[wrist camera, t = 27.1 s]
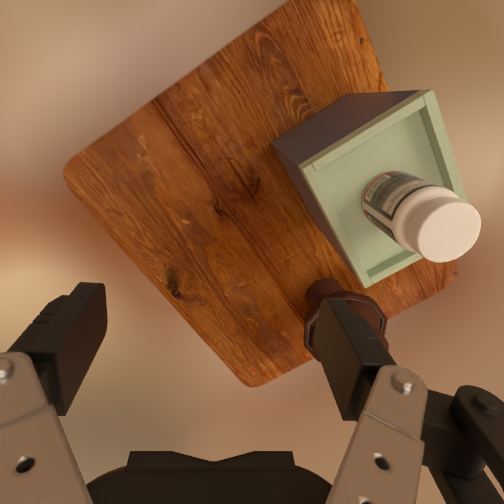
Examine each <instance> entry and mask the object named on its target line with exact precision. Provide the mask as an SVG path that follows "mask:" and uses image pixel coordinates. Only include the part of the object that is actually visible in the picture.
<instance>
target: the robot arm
mask: <svg viewBox="0 0 504 504" xmlns="http://www.w3.org/2000/svg"><path fill="white" fill-rule="evenodd" d="M106 330H107V306H106V291H105V286H104V284H103V283H87V282H80V283H79V284H78V285H77V286H76V287H75V289H74V290H73V291H72V292H71V294H70V295H69V296H68V295H61V296H60V297H58V298H56V299H55V300H53V301H51V302H50V303H48V304H47V305H46V306H45V308H44V309H43V310H42V311H41V312H40V315H38V316H37V317H36V318H35V319H34V320H33V323H32V324H30V325H29V326H28V327H27V329H26V330H25V331H24V332H23V333H22V334H21V336H20V337H19V338H18V339H17V340H16V341H15V343H14V344H13V345H12V346H11V347H10V348H9V350H8V351H7V352H4V353H0V504H416V497H417V492H418V485H419V478H420V472H421V466H422V465H424V466H427V467H428V468H429V470H430V472H431V474H432V476H433V478H434V480H435V482H436V484H437V486H438V488H439V490H440V492H441V494H442V496H443V498H444V500H445V502H446V504H504V501H503V499H502V497H501V496H500V494H499V493H498V491H497V490H496V488H495V487H494V485H493V484H492V482H491V481H490V479H489V478H488V476H487V475H486V473H485V471H484V470H483V469H484V467H485V466H486V464H487V466H488V467H489V469H490V470H491V472H492V473H493V475H494V476H495V478H496V479H497V481H498V482H499V483H500V485H501V487H502V489H503V492H504V402H503V401H501V400H500V399H499V398H498V397H496V396H495V395H493V394H492V393H490V392H488V391H486V390H484V389H482V388H479V387H475V386H470V385H465V386H461V387H459V388H458V390H457V392H456V394H455V396H450V395H447V394H443V393H439V392H436V391H432V390H429V389H427V387H426V385H425V383H424V382H423V380H422V379H421V378H420V377H419V376H417V375H416V374H415V373H413V372H412V371H410V370H408V369H406V368H404V367H400V366H397V364H396V363H395V361H394V360H393V358H392V357H391V355H390V354H389V352H388V351H387V349H386V348H385V346H384V345H383V343H382V342H381V340H379V337H378V336H377V334H376V333H375V332H374V330H373V328H372V327H371V325H370V324H369V322H368V321H367V320H366V319H365V318H364V317H362V316H361V315H360V314H359V313H357V312H352V310H351V309H350V307H349V305H348V304H347V302H346V301H345V299H343V298H326V297H325V298H323V300H322V302H321V306H320V310H319V314H318V318H317V322H316V326H315V330H314V344H315V348H316V350H317V353H318V356H319V358H320V361H321V364H322V366H323V369H324V372H325V374H326V377H327V379H328V382H329V385H330V387H331V390H332V393H333V395H334V398H335V400H336V403H337V406H338V409H339V411H340V414H341V416H342V419H343V420H345V421H356V422H357V425H356V427H355V430H354V433H353V435H352V438H351V440H350V443H349V445H348V448H347V450H346V453H345V455H344V458H343V460H342V463H341V465H340V468H339V470H338V473H337V475H336V478H335V480H334V483H333V485H331V484H330V483H328V482H327V481H326V480H325V479H323V478H322V477H320V476H319V475H317V474H315V473H313V472H311V471H309V470H307V469H304V468H302V467H299V466H296V465H295V463H294V458H293V453H292V451H253V452H249V453H246V454H242V455H238V456H235V457H231V458H228V459H224V460H220V461H215V462H214V461H213V462H212V461H207V460H203V459H200V458H196V457H192V456H188V455H184V454H181V453H177V452H173V451H131V452H130V454H129V458H128V462H127V466H124V467H120V468H117V469H115V470H112V471H109V472H107V473H105V474H103V475H101V476H99V477H97V478H96V479H95V480H93V481H91V482H89V483H88V484H87V485H85V482H84V480H83V477H82V475H81V472H80V470H79V467H78V465H77V462H76V460H75V457H74V455H73V452H72V450H71V448H70V445H69V443H68V440H67V438H66V435H65V433H64V430H63V428H62V425H61V423H60V421H59V418H58V416H65V415H66V413H67V411H68V409H69V407H70V405H71V403H72V401H73V399H74V397H75V395H76V393H77V391H78V389H79V387H80V385H81V383H82V381H83V379H84V377H85V375H86V373H87V371H88V369H89V367H90V365H91V363H92V361H93V359H94V357H95V355H96V353H97V351H98V349H99V347H100V345H101V343H102V341H103V339H104V337H105V334H106Z"/></svg>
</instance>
